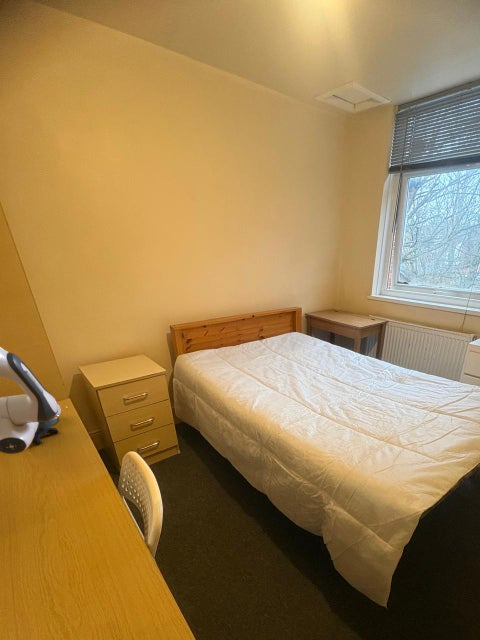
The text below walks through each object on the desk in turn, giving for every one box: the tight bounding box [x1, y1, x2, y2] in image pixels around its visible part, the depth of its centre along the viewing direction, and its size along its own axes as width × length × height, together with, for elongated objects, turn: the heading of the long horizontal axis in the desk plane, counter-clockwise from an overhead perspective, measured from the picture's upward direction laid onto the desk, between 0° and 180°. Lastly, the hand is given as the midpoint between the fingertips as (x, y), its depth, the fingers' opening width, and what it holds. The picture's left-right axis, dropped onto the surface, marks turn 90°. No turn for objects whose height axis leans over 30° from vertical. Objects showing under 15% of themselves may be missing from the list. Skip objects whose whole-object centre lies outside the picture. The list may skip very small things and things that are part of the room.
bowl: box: [37, 417, 58, 429], centre depth 130 cm, size 11×11×6 cm
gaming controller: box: [31, 426, 60, 446], centre depth 122 cm, size 10×5×6 cm
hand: (30, 406), depth 124 cm, fingers open, 8 cm apart
